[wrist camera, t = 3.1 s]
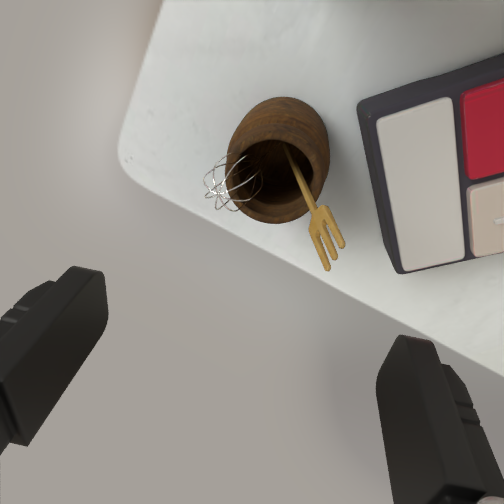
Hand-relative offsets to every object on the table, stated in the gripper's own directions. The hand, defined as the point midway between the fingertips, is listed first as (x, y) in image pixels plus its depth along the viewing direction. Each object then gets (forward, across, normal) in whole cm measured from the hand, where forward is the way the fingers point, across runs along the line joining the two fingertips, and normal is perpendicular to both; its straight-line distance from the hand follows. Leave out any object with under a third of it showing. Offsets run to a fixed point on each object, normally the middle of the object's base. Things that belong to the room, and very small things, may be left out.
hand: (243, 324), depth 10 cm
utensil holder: (+17, 0, 0) cm, 17 cm away
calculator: (+18, -13, -2) cm, 22 cm away
